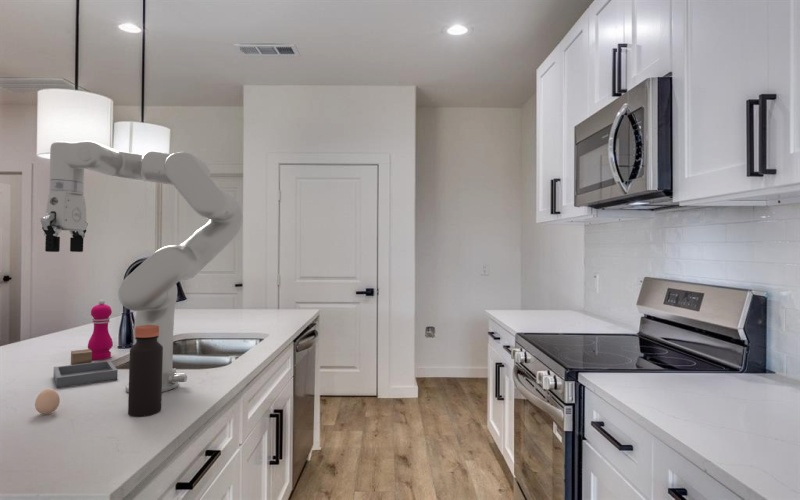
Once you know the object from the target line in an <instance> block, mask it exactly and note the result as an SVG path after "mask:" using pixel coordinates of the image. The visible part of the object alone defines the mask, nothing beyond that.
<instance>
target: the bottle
mask: <svg viewBox="0 0 800 500" xmlns="http://www.w3.org/2000/svg"><path fill="white" fill-rule="evenodd" d="M158 335H159V326H158V325H142V326H137V327H135V339H136V343H135V344H134V343H133V345H132V347H130V349H129V361H128V362H129V366H128V367H129V368H128V369H129V370H128V384H129V392H128V395H127V397H128V398H127V399H128V401H127V403H128V405H127V413H128V415H129V416H130V417H134V418H135V417H136V418H141V417H148V416H149V417H150V416H152V415H153V416H154V415H156V414H158V413H160V411H161V410H162V398H163V397H162V396H163V395H162V394H163V392H162V364H163V346H162V345H161V344H160V343H159V342H157V338H158V337H159V336H158Z"/></svg>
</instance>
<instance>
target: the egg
mask: <svg viewBox="0 0 800 500" xmlns="http://www.w3.org/2000/svg"><path fill="white" fill-rule="evenodd" d="M60 401H61V400H60V395H59V393H58V392H57V391H56V390H55V389H53V388H46V389H44V390H42V391H41V392H40V393H39V394H38V395H37V397H36V398H35V403H34V407H35V408H34V409H35V410H36V411H37V412H38V413H39V414H41V415H49V414H50V415H51V414H52V413H54V412H55V411H56V410H57V409H58V407H59V406H60Z"/></svg>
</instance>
